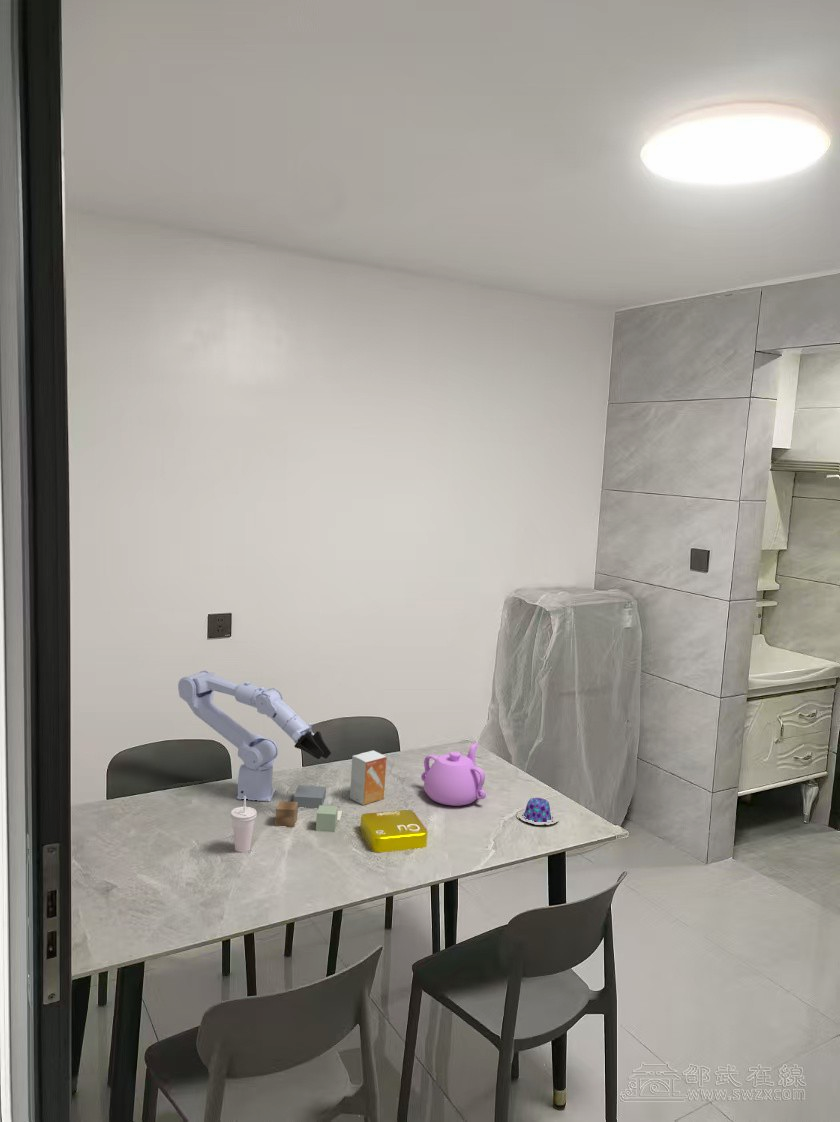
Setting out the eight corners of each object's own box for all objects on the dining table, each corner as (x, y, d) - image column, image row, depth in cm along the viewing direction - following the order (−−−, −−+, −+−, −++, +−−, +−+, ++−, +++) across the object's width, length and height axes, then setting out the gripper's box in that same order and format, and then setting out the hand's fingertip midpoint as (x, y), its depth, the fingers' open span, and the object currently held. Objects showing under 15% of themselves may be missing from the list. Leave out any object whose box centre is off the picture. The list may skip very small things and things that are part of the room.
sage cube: (315, 831, 222) (316, 813, 221) (318, 822, 227) (319, 805, 226) (334, 832, 221) (335, 814, 221) (337, 824, 226) (337, 806, 226)
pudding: (512, 823, 234) (514, 805, 233) (520, 806, 245) (521, 789, 244) (555, 831, 230) (557, 813, 230) (561, 814, 242) (562, 796, 241)
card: (317, 819, 228) (317, 818, 228) (321, 810, 234) (321, 809, 234) (339, 821, 228) (339, 819, 228) (342, 811, 234) (342, 810, 234)
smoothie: (233, 856, 205) (234, 802, 203) (226, 845, 211) (228, 792, 209) (258, 852, 208) (260, 798, 206) (251, 840, 214) (253, 788, 212)
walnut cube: (275, 826, 223) (275, 808, 222) (279, 818, 228) (279, 800, 227) (293, 827, 223) (294, 810, 222) (297, 819, 228) (298, 802, 227)
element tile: (411, 823, 230) (412, 807, 229) (429, 849, 216) (430, 831, 215) (358, 828, 225) (359, 811, 225) (372, 854, 211) (373, 836, 211)
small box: (363, 806, 239) (365, 762, 237) (349, 798, 243) (351, 755, 241) (384, 798, 244) (387, 756, 242) (370, 791, 249) (372, 749, 247)
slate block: (293, 808, 235) (293, 796, 235) (297, 796, 243) (298, 785, 243) (321, 810, 235) (322, 798, 235) (325, 798, 243) (325, 786, 243)
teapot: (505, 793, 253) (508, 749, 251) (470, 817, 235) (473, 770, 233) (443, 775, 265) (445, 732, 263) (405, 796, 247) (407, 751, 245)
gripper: (292, 711, 228) (327, 745, 224) (307, 712, 242) (341, 745, 238) (274, 730, 227) (309, 765, 224) (291, 731, 241) (324, 763, 238)
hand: (324, 756), depth 231 cm, fingers open, 7 cm apart
